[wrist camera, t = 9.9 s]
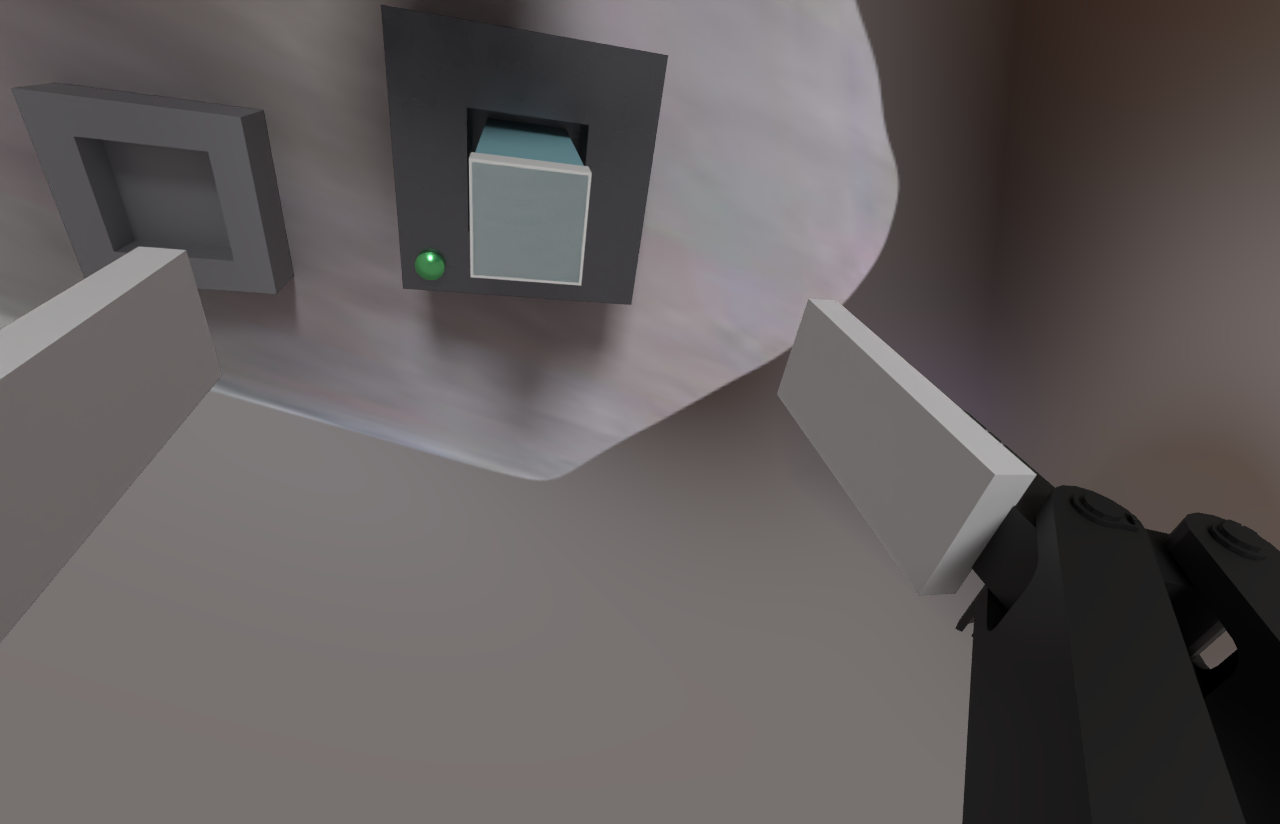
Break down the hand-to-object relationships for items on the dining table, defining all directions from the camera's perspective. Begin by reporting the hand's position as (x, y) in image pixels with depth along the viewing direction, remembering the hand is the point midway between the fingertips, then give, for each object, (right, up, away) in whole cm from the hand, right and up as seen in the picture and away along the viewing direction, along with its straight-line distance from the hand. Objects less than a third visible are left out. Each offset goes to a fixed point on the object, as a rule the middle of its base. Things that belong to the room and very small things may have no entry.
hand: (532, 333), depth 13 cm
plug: (-4, +12, +18) cm, 22 cm away
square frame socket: (-22, +10, +18) cm, 31 cm away
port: (-4, +13, +20) cm, 25 cm away
